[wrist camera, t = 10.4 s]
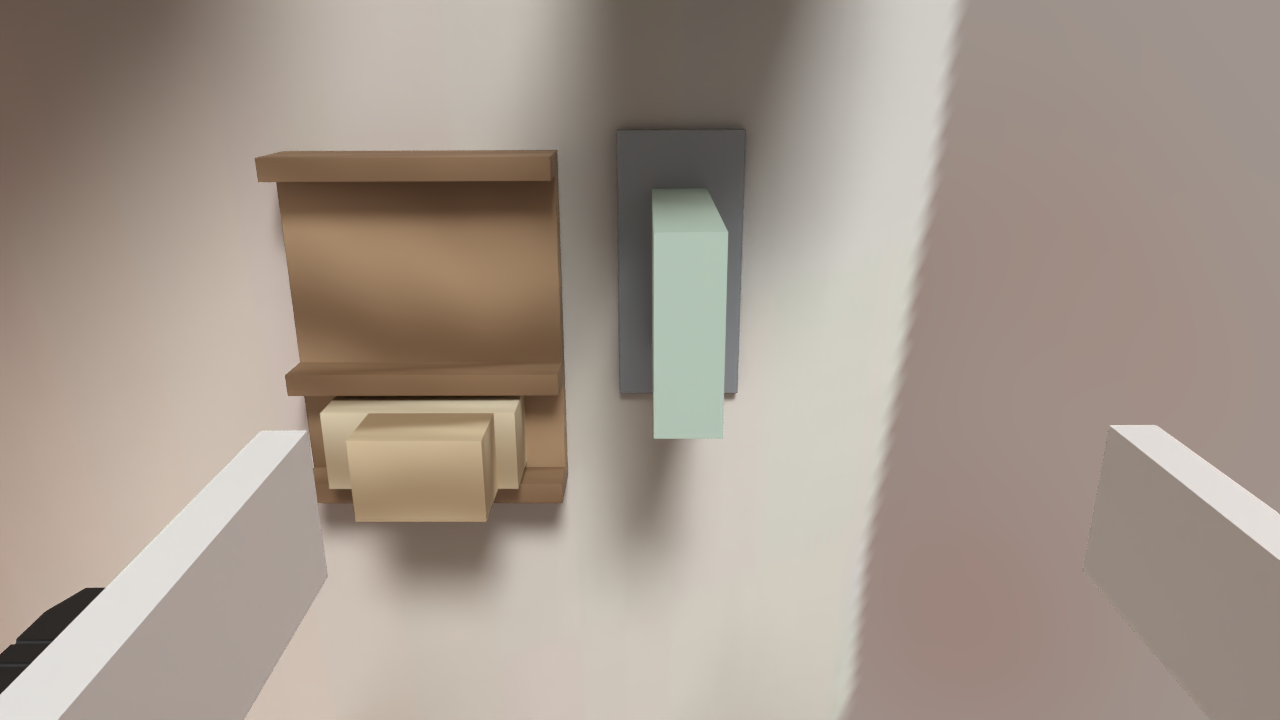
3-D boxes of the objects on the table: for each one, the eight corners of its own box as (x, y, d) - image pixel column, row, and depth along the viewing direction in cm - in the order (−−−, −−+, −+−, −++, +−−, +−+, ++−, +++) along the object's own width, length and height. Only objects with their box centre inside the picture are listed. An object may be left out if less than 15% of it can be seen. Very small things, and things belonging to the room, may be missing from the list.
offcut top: (368, 413, 32) (346, 441, 29) (493, 412, 32) (481, 441, 29) (376, 488, 33) (355, 521, 30) (498, 488, 33) (486, 521, 30)
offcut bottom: (342, 389, 34) (319, 413, 32) (523, 389, 34) (514, 412, 32) (350, 460, 35) (329, 488, 33) (527, 460, 35) (518, 488, 33)
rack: (283, 151, 32) (254, 157, 30) (557, 150, 32) (549, 156, 30) (325, 474, 36) (302, 503, 34) (567, 474, 36) (562, 502, 34)
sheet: (651, 188, 32) (653, 232, 24) (706, 188, 32) (728, 232, 24) (652, 345, 34) (653, 438, 26) (704, 345, 34) (722, 438, 26)
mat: (617, 129, 32) (616, 130, 32) (744, 129, 32) (745, 130, 32) (620, 389, 35) (620, 392, 35) (736, 389, 35) (737, 392, 35)
